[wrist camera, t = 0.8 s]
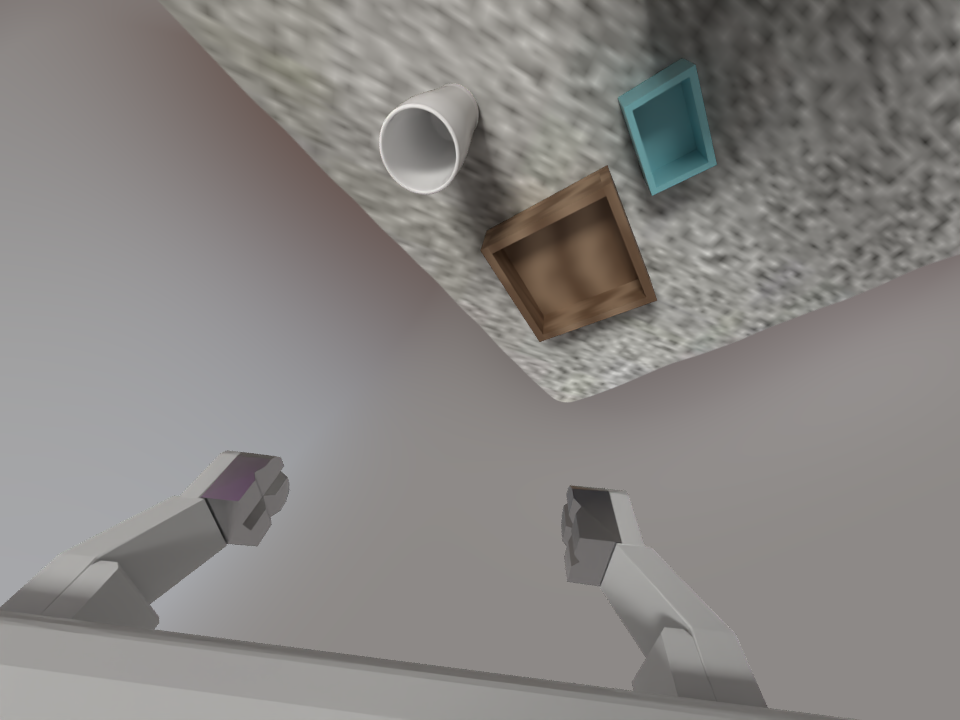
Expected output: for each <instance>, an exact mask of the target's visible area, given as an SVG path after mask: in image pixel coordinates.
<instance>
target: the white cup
mask: <svg viewBox="0 0 960 720" xmlns="http://www.w3.org/2000/svg"><path fill="white" fill-rule="evenodd" d="M478 119H479V110H478V105H477V102H476V100H475V98H474V96H473V95H472V93H471V92H470V91H469V90H468V89H467V88H465V87H464V86H462V85H459V84H455V83H450V84H446V85H443V86H442V87H440V88H438V89H434V90H430V91H427V92H423V93H420V94H417V95H415V96H412V97H410V98H409V99H407V100H405V101H404V102H402V103H401V104H400V105H399V106H397V107H396V108H395V109H394V110H393V111H392V112H391V113H390V114H389V115H388V116H387V118H386V119H385V121H384V123H383V125H382V128H381V131H380V137H379V147H380V153H381V157H382V160H383V163H384V165H385V167H386V169H387V171H388V172H389V174H390V175H391V177H392V178H393V179H394V180H395V181H396V182H397V183H398V184H399V185H401V186H402V187H403V188H405V189H407V190H409V191H411V192H414V193H417V194H434V193H437V192H439V191H441V190H443V189H444V188H446V187H447V186H448V185H449V184H450V183H451V182H452V180H453V179H454V178H455V176H456V175H457V174H458V172H459V171H460V169H461V167H462V165H463V163H464V161H465V159H466V156H467V154H468V150H469V147H470V144H471V140H472V137H473V133H474V131H475V129H476V127H477V124H478Z"/></svg>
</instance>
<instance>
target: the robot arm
mask: <svg viewBox="0 0 960 720" xmlns="http://www.w3.org/2000/svg"><path fill="white" fill-rule="evenodd" d="M283 467H284V464H283V461H282V459H281V458H280V457H276V456H269V455H261V454H254V453H245V452H236V451H225V452H223V453H220V455H219V456H218V457H217V458H216V459H215V460H214V461H213V462H212V463H211V464H210V465H209V466H208V467H207V468H206V469H205V470H204V471H203V472H202V473H201V474H200V475H199V476H198V477H197V479H196V480H195V481H194V482H193V483H192V484H191V485H190V486H189V487H188V488H187V489H186V490H185V491H184V492H183V493H182V494H181V495H180V496H172V497H170V498H168V499H167V500H165V501H163V502H161V503H159V504H157V505H155V506H153V507H151V508H149V509H147V510H145V511H143V512H141V513H139V514H137V515H135V516H133V517H131V518H129V519H127V520H125V521H123V522H121V523H119V524H117V525H115V526H113V527H111V528H110V529H107V530H106V531H104V532H101V533H99V534H97V535H96V536H94V537H92V538H90V539H88V540H86V541H84V542H82V543H80V544H78V545H76V546H74V547H72V548H70V549H68V550H66V551H64V552H62V553H60V554H59V555H58V556H57V557H56V558H55V559H53V560H52V561H51V562H50V563H49V564H48V565H47V566H46V567H44V568H43V569H42V570H41V571H40V572H39V573H38V574H37V575H36V576H34V577H33V578H32V579H31V580H30V581H29V582H28V583H27V584H26V585H24V586H23V587H22V588H21V589H20V590H19V591H18V592H17V593H16V594H15V595H13V596H12V597H11V598H10V599H9V600H8V601H7V602H6V603H5V604H3V605H2V606H1V607H0V720H857V719H850V718H841V717H834V716H826V715H818V714H810V713H802V712H795V711H787V710H779V709H771V708H768V707H767V705H766V702H765V700H764V698H763V696H762V693H761V691H760V689H759V687H758V684H757V682H756V680H755V677H754V675H753V673H752V670H751V668H750V666H749V664H748V661H747V659H746V657H745V654H744V652H743V650H742V648H741V646H740V643H739V641H738V639H737V636H736V634H735V633H734V632H733V631H732V630H731V629H730V628H729V627H728V626H727V625H726V624H725V623H724V622H723V621H722V620H721V619H720V618H719V617H718V616H717V614H716V613H715V612H714V611H713V610H712V609H711V608H710V607H709V606H708V605H707V604H706V603H705V602H704V601H703V600H702V599H701V598H700V597H699V596H698V595H697V594H696V593H695V592H694V591H693V590H692V589H691V588H690V587H689V586H688V585H687V584H686V583H685V582H684V581H683V579H682V578H681V577H680V576H679V575H678V574H677V573H676V572H675V571H674V570H673V569H672V568H671V567H670V566H669V565H668V564H667V563H666V562H665V561H664V560H663V559H662V558H661V557H660V556H659V555H658V554H657V553H656V552H655V551H654V550H653V549H652V547H647V546H645V545H644V541H643V538H642V535H641V532H640V529H639V525H638V522H637V519H636V516H635V513H634V510H633V507H632V504H631V500H630V497H629V494H628V493H627V492H626V491H623V490H613V489H605V488H592V487H582V486H569V488H568V491H567V504H566V505H564V507H563V512H562V522H561V523H562V524H561V527H562V541H563V542H564V544H565V545H566V546H567V548H566V552H565V556H564V559H565V568H566V576H567V582H573V583H580V584H587V585H595V586H600V589H601V590H602V592H603V594H604V595H605V597H606V598H607V600H608V601H609V603H610V604H611V606H612V607H613V609H614V610H615V612H616V613H617V615H618V616H619V618H620V619H621V621H622V622H623V624H624V625H625V627H626V628H627V630H628V631H629V633H630V634H631V636H632V637H633V639H634V640H635V642H636V643H637V645H638V647H639V648H640V649H641V651H642V653H643V654H644V656H645V657H646V659H645V661H644V662H643V664H642V666H641V667H640V669H639V671H638V673H637V674H636V676H635V678H634V679H633V681H632V686H633V691H631V690H622V689H614V688H607V687H599V686H591V685H584V684H576V683H568V682H559V681H552V680H544V679H536V678H529V677H521V676H513V675H505V674H498V673H489V672H482V671H474V670H466V669H459V668H451V667H443V666H435V665H427V664H420V663H412V662H403V661H396V660H388V659H380V658H372V657H365V656H357V655H349V654H341V653H334V652H326V651H318V650H310V649H303V648H294V647H286V646H279V645H271V644H263V643H255V642H248V641H240V640H232V639H224V638H216V637H208V636H201V635H193V634H184V633H177V632H169V631H162V630H154V629H155V627H156V626H157V625H158V624H159V617H158V615H157V614H156V612H155V611H154V610H153V608H152V607H151V606H150V604H151V603H152V602H153V601H155V600H156V599H157V598H159V597H160V596H161V595H163V594H164V593H165V592H167V591H168V590H169V589H170V588H172V587H173V586H174V585H176V584H177V583H178V582H180V581H181V580H182V579H183V578H185V577H186V576H187V575H189V574H190V573H191V572H193V571H194V570H195V569H197V568H198V567H199V566H201V565H202V564H203V563H205V562H206V561H207V560H208V559H210V558H211V557H212V556H214V555H215V554H216V553H218V552H219V551H220V550H222V549H223V548H224V547H225V546H226V544H235V545H247V546H258V545H259V543H260V542H261V540H262V538H263V537H264V535H265V534H266V532H267V531H268V529H269V528H270V526H271V516H273V515H274V514H276V513H277V512H279V511H280V510H281V509H282V507H283V506H284V504H285V502H286V500H287V497H288V494H289V480H288V477H287V476H286V475H285V474H283V473H282V472H281V470H282V468H283Z"/></svg>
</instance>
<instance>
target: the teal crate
mask: <svg viewBox="0 0 960 720" xmlns="http://www.w3.org/2000/svg"><path fill="white" fill-rule="evenodd" d="M618 100H619V103H620V106H621V110H622V113H623V116H624V119H625V122H626V125H627V128H628V131H629V134H630V137H631V140H632V143H633V146H634V149H635V152H636V155H637V158H638V161H639V164H640V167H641V170H642V173H643V176H644V179H645V182H646V184H647V186H648V188H649V190H650V192H651V195H652V196H653V195H655V194H657V193H659V192H661V191H663V190H665V189H667V188H669V187H672V186H674V185H676V184H678V183H680V182H682V181H684V180H686V179H688V178H690V177H692V176H695V175H697V174H699V173H701V172H703V171H705V170H707V169H709V168H711V167H713V166H715V165H717V163H716V158H715V153H714V149H713V144H712V139H711V135H710V130H709V125H708V121H707V116H706V111H705V107H704V102H703V97H702V92H701V88H700V83H699V78H698V74H697V69H696V65H695V64H693V63H691V62H689V61H687V60H685V59H683V58H681V59H680V60H678V61H676V62H675V63H673V64H672V65H670V66H668V67H667V68H665V69H663V70H662V71H660V72H659V73H657V74H655V75H654V76H652V77H651V78H649V79H647V80H646V81H644V82H642V83H641V84H639V85H638V86H636V87H634V88H633V89H631V90H630V91H628V92H626V93H625V94H623V95H621V96H620V97H618Z"/></svg>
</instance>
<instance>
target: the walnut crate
mask: <svg viewBox="0 0 960 720" xmlns="http://www.w3.org/2000/svg"><path fill="white" fill-rule="evenodd" d="M481 252H482V254H483V255H484V257H485V258H486V260H487V261H488V263H489V264H490V266H491V268H492V269H493V271H494V272H495V274H496V275H497V277H498V278H499V280H500V281H501V283H502V285H503V286H504V288H505V289H506V291H507V292H508V294H509V295H510V297H511V298H512V300H513V302H514V303H515V305H516V306H517V308H518V309H519V311H520V312H521V314H522V315H523V317H524V319H525V320H526V322H527V323H528V325H529V326H530V328H531V329H532V331H533V332H534V334H535V335H536V337H537V339H538V340H539V342H541V341H544V340H547V339H550V338H552V337H555V336H558V335H561V334H564V333H567V332H569V331H572V330H575V329H578V328H581V327H583V326H586V325H589V324H592V323H595V322H598V321H600V320H603V319H606V318H609V317H612V316H614V315H617V314H620V313H623V312H626V311H629V310H631V309H634V308H637V307H640V306H643V305H646V304H648V303H651V302H654V301H657V298H656V295H655V292H654V289H653V286H652V283H651V280H650V277H649V274H648V272H647V269H646V266H645V264H644V261H643V258H642V256H641V253H640V250H639V248H638V245H637V242H636V240H635V237H634V234H633V232H632V229H631V226H630V224H629V221H628V218H627V216H626V213H625V210H624V208H623V205H622V203H621V200H620V197H619V195H618V192H617V189H616V187H615V184H614V181H613V179H612V176H611V173H610V171H609V168H608V165H607V166H605V167H603V168H601V169H600V170H598V171H596V172H594V173H592V174H590V175H589V176H587V177H585V178H583V179H581V180H579V181H578V182H576V183H574V184H572V185H570V186H568V187H566V188H565V189H563V190H561V191H559V192H557V193H555V194H554V195H552V196H550V197H548V198H546V199H544V200H543V201H541V202H539V203H537V204H535V205H533V206H531V207H530V208H528V209H526V210H524V211H522V212H520V213H519V214H517V215H515V216H513V217H511V218H509V219H508V220H506V221H504V222H502V223H500V224H498V225H496V226H495V227H493V228H491V229H489V230H487V232H486V235H485V238H484V241H483V245H482V248H481Z"/></svg>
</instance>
